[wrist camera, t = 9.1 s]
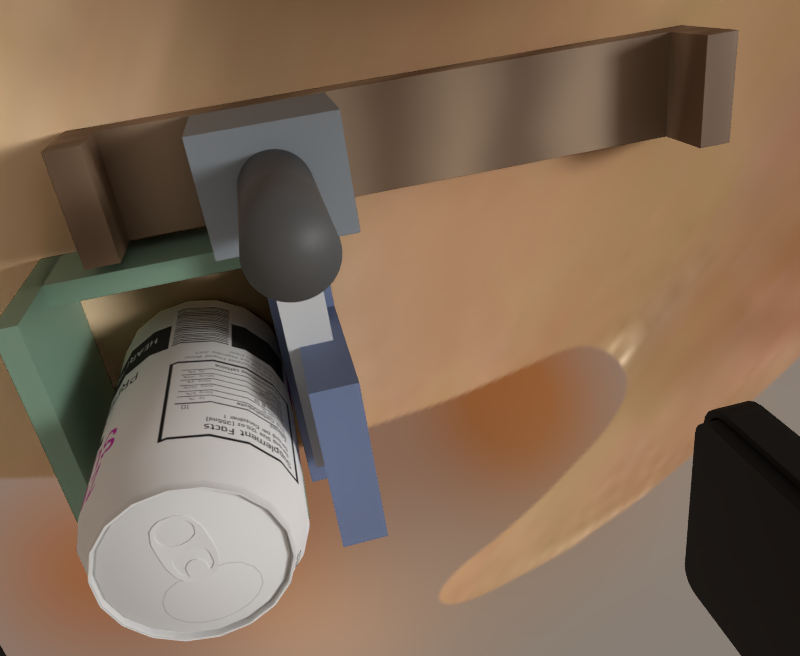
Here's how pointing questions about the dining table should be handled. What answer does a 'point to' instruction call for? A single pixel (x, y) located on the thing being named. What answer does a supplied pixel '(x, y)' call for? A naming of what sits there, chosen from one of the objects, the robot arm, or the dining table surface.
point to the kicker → (295, 271)
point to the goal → (84, 343)
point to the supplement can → (196, 478)
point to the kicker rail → (420, 127)
